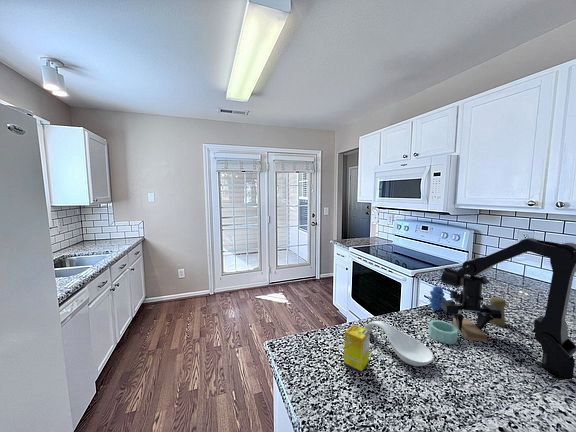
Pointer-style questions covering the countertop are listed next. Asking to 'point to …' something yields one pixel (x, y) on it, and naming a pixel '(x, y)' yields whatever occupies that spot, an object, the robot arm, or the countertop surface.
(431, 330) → the bowl
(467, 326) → the tan wooden plank
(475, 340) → the mat
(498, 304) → the olive brown pear
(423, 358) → the spoon rest
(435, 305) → the grapes
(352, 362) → the supplement box
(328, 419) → the countertop surface
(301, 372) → the countertop surface
